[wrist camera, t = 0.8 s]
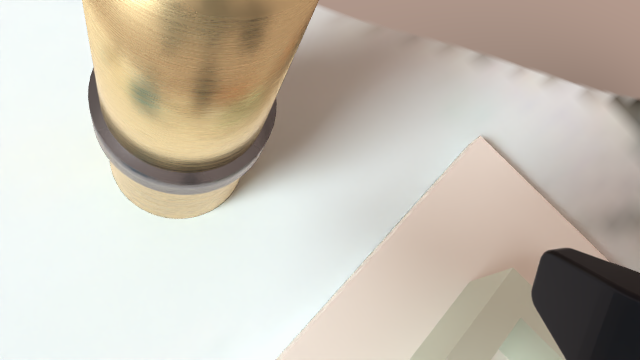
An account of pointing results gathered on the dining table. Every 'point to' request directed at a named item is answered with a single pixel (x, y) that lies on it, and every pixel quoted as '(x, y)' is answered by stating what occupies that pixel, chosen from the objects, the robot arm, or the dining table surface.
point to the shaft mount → (450, 275)
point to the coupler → (187, 93)
